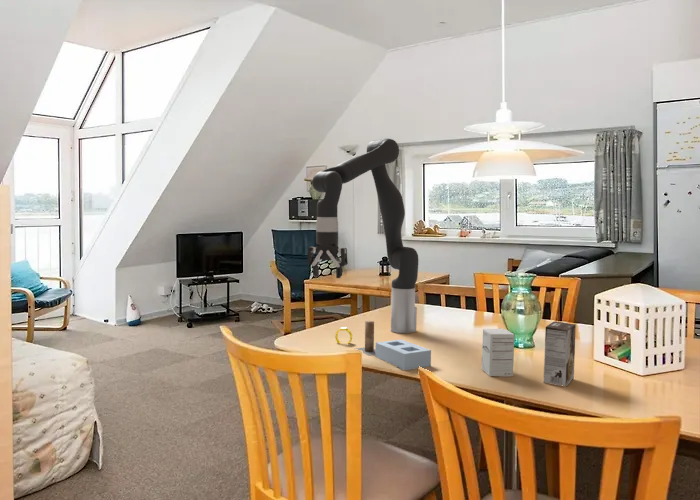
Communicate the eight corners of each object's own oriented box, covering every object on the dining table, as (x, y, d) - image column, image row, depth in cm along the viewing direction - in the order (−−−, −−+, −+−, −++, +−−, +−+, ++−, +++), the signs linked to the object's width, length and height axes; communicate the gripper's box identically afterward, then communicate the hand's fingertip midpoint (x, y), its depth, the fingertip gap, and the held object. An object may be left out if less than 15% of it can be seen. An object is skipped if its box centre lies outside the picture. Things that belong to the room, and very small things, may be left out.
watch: (334, 345, 202) (333, 328, 202) (337, 343, 205) (336, 326, 204) (350, 345, 200) (349, 328, 200) (353, 343, 203) (352, 327, 202)
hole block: (400, 354, 189) (401, 339, 189) (430, 366, 175) (431, 350, 175) (375, 357, 184) (375, 342, 184) (404, 370, 171) (404, 353, 170)
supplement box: (480, 369, 172) (482, 328, 171) (504, 369, 173) (506, 328, 172) (488, 377, 165) (490, 333, 164) (513, 376, 166) (515, 333, 165)
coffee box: (551, 375, 167) (553, 320, 166) (574, 379, 164) (576, 323, 163) (542, 382, 160) (544, 326, 159) (566, 387, 156) (568, 329, 155)
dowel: (370, 349, 193) (371, 320, 193) (375, 351, 191) (375, 322, 190) (363, 350, 192) (363, 321, 191) (367, 352, 189) (368, 322, 189)
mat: (369, 347, 197) (369, 346, 197) (384, 354, 189) (384, 353, 189) (354, 349, 194) (354, 348, 194) (369, 356, 186) (369, 355, 186)
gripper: (350, 230, 195) (350, 277, 197) (314, 229, 201) (314, 275, 203) (341, 231, 189) (341, 280, 190) (303, 230, 195) (303, 277, 196)
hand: (327, 277), depth 196 cm, fingers open, 8 cm apart
